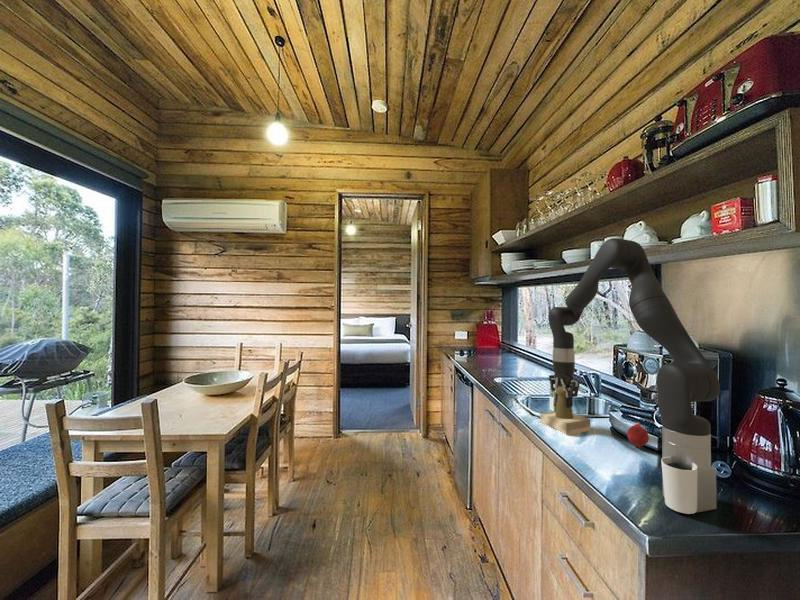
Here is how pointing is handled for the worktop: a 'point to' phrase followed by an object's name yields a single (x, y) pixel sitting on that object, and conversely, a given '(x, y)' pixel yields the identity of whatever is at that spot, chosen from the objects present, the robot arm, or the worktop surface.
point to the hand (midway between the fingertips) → (563, 405)
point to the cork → (562, 405)
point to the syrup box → (552, 400)
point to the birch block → (566, 423)
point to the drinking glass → (680, 486)
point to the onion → (637, 435)
